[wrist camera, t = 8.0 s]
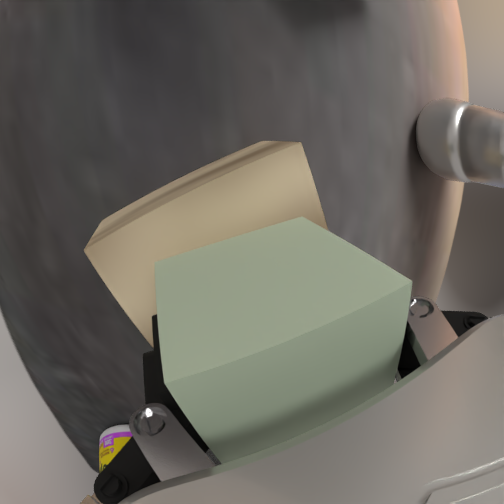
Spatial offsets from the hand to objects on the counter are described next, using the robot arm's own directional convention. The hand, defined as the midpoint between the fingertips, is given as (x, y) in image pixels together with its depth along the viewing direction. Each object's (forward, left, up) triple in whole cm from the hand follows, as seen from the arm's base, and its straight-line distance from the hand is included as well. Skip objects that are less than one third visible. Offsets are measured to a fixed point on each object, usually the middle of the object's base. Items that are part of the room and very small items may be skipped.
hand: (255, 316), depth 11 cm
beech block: (0, 0, -7) cm, 7 cm away
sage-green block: (0, 0, -1) cm, 1 cm away
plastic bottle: (-5, +19, -7) cm, 21 cm away
